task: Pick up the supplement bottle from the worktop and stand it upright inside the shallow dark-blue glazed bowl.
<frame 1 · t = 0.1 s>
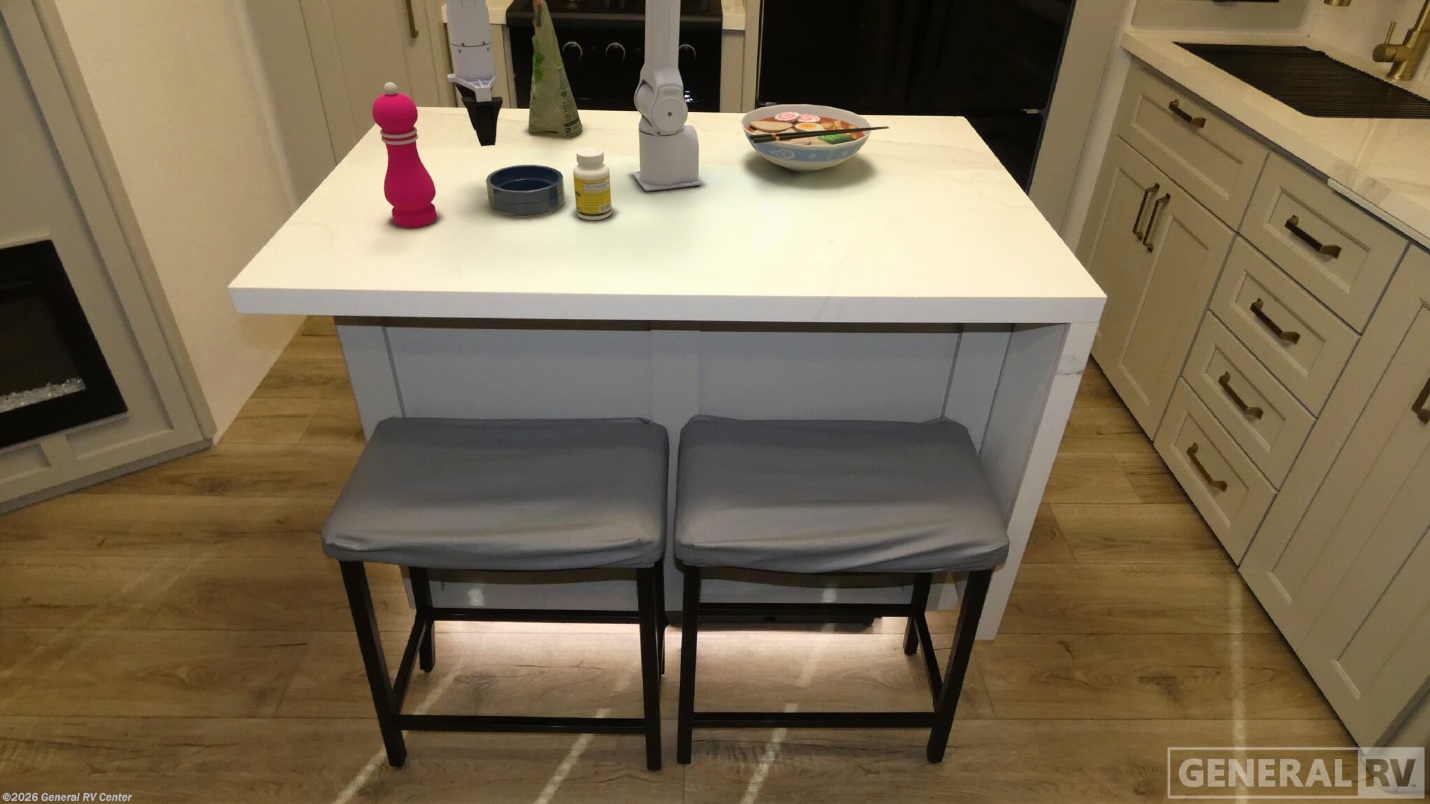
hand: (484, 136, 131), 10 cm above the counter, tool pointing down, fingers open, 7 cm apart
bowl: (527, 203, 136), on the counter
ramen bowl: (802, 166, 152), on the counter
supplement bottle: (594, 215, 133), on the counter
pepper mill: (415, 220, 130), on the counter
pouch: (553, 131, 165), on the counter
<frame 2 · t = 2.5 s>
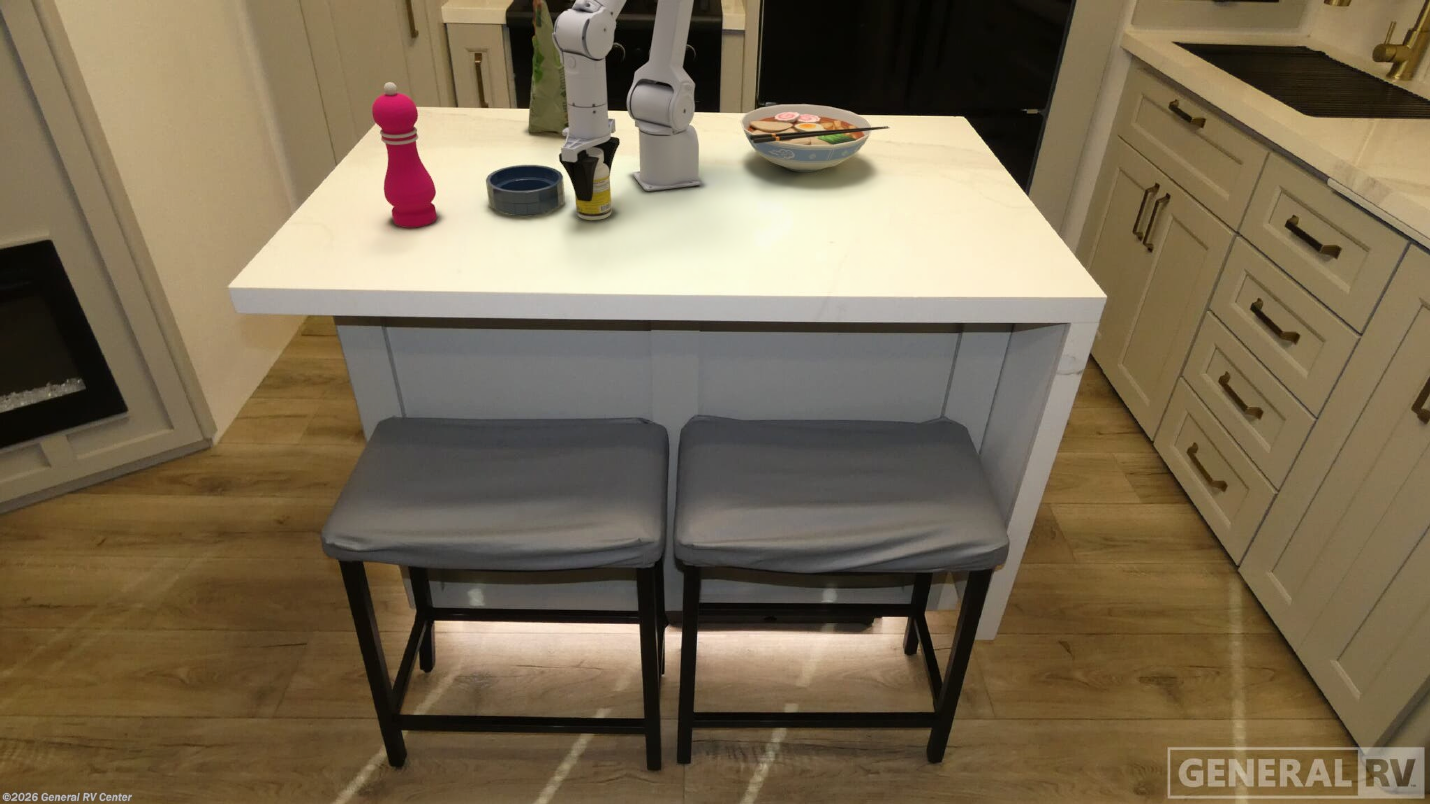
hand: (592, 192, 131), 3 cm above the counter, tool pointing down, fingers closed on supplement bottle, 5 cm apart
supplement bottle: (594, 215, 133), on the counter, touching gripper
everything else where it was.
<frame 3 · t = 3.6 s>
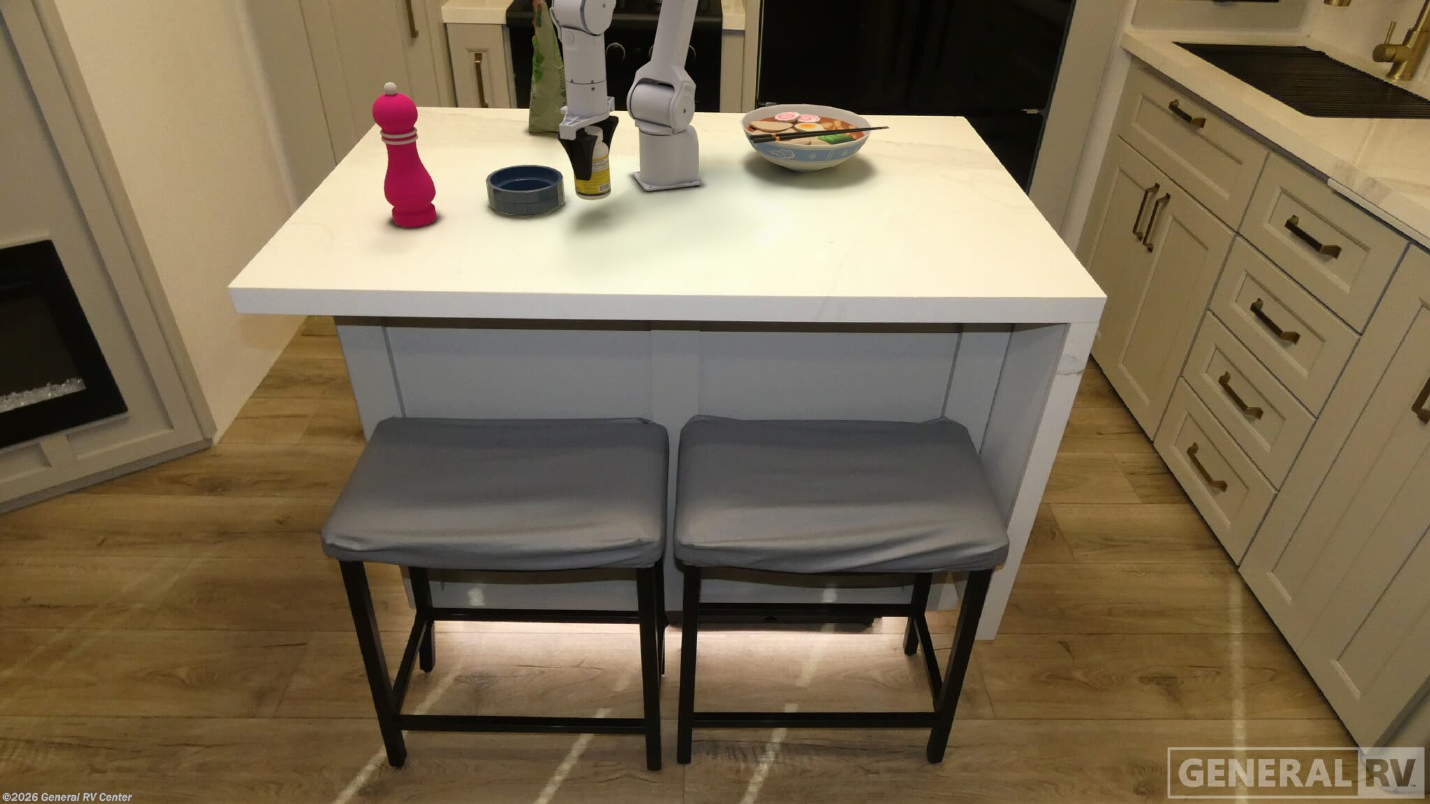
hand: (591, 172, 129), 7 cm above the counter, tool pointing down, fingers closed on supplement bottle, 5 cm apart
supplement bottle: (593, 195, 131), point 3 cm above the counter, touching gripper
everything else where it was.
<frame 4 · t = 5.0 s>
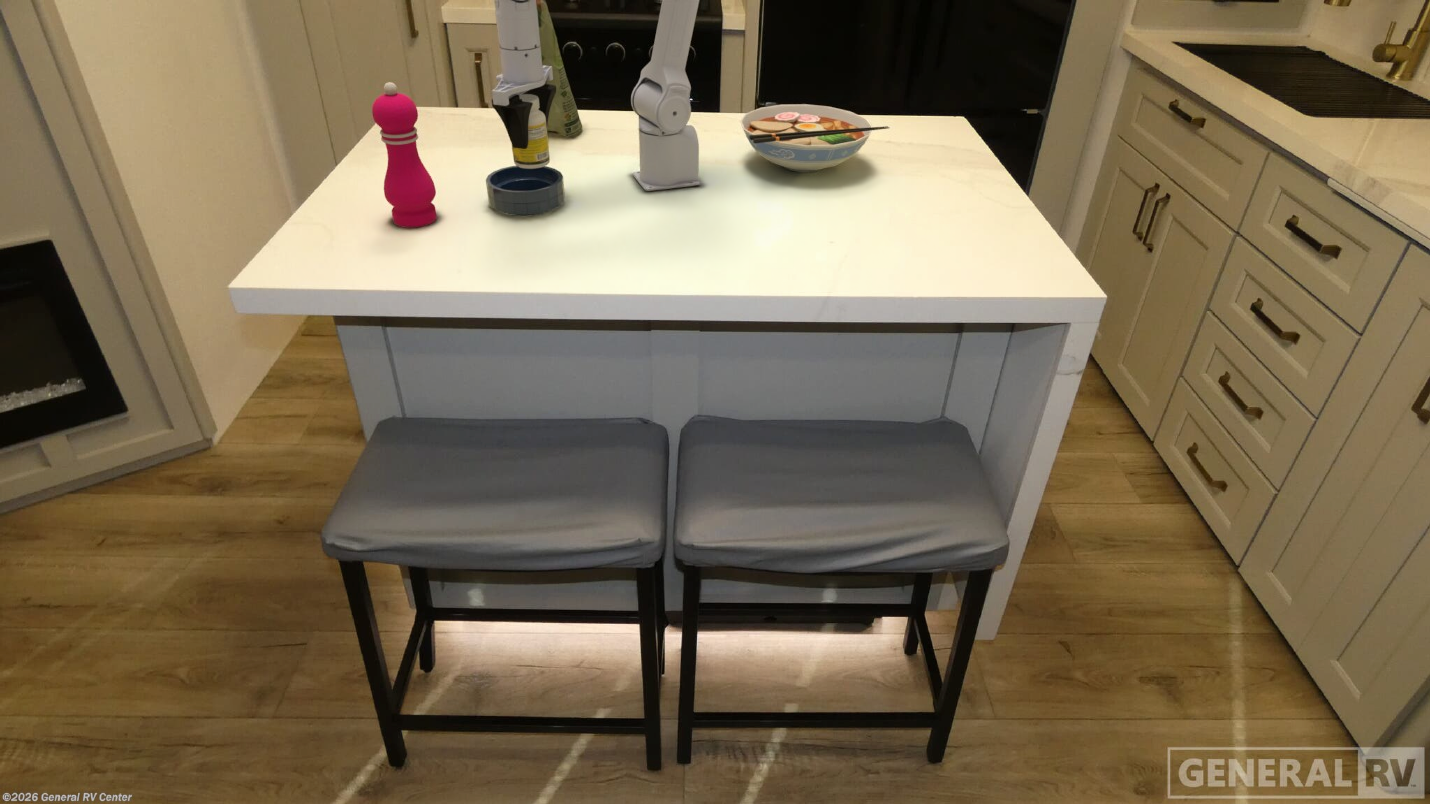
hand: (529, 141, 129), 10 cm above the counter, tool pointing down, fingers closed on supplement bottle, 5 cm apart
supplement bottle: (532, 164, 131), point 7 cm above the counter, touching gripper
everything else where it was.
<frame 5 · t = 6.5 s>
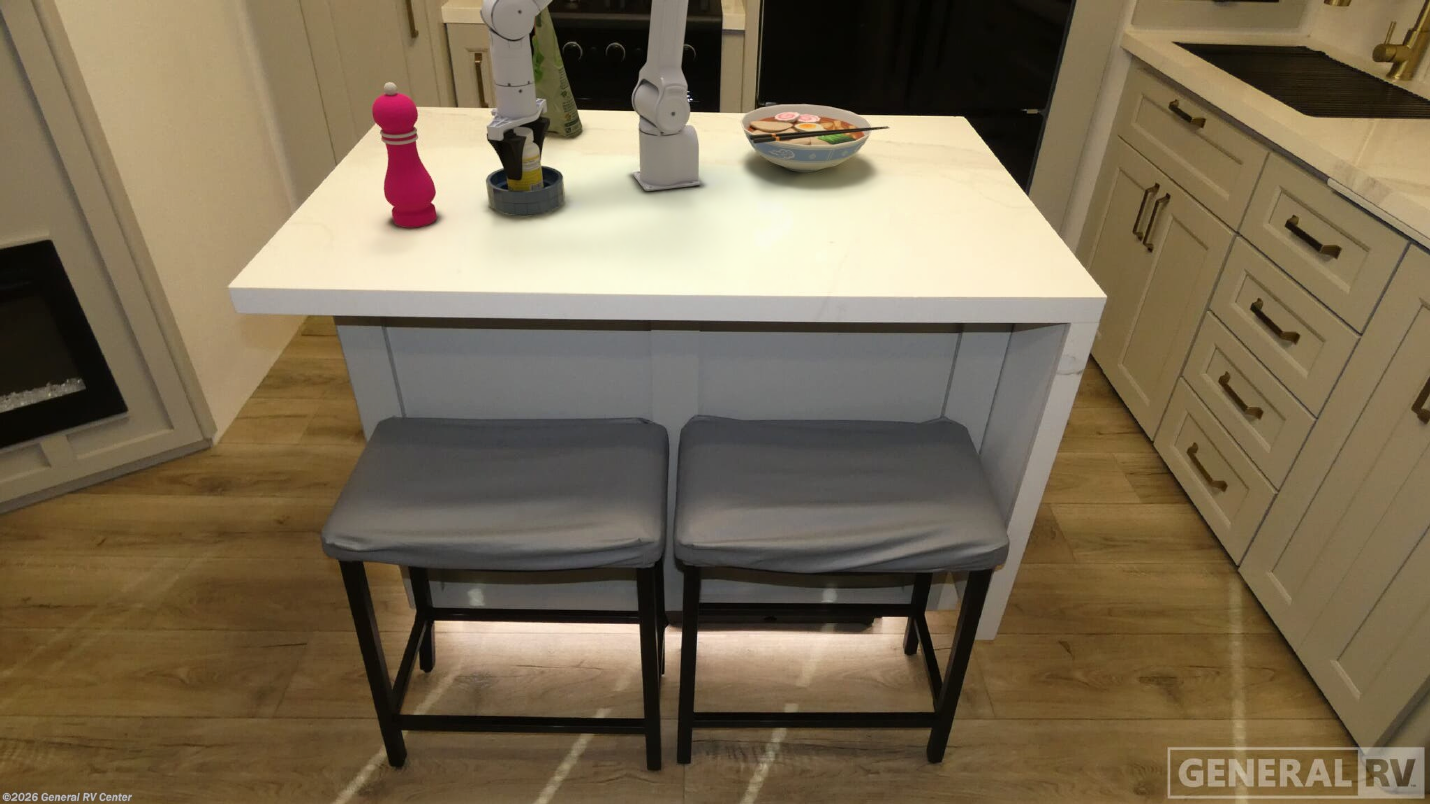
hand: (524, 172, 133), 5 cm above the counter, tool pointing down, fingers closed on supplement bottle, 5 cm apart
supplement bottle: (526, 194, 135), point 1 cm above the counter, touching gripper
everything else where it was.
when the fingers open (4 cm above the counter, at t = 7.5 s): supplement bottle stays where it is, resting on bowl.
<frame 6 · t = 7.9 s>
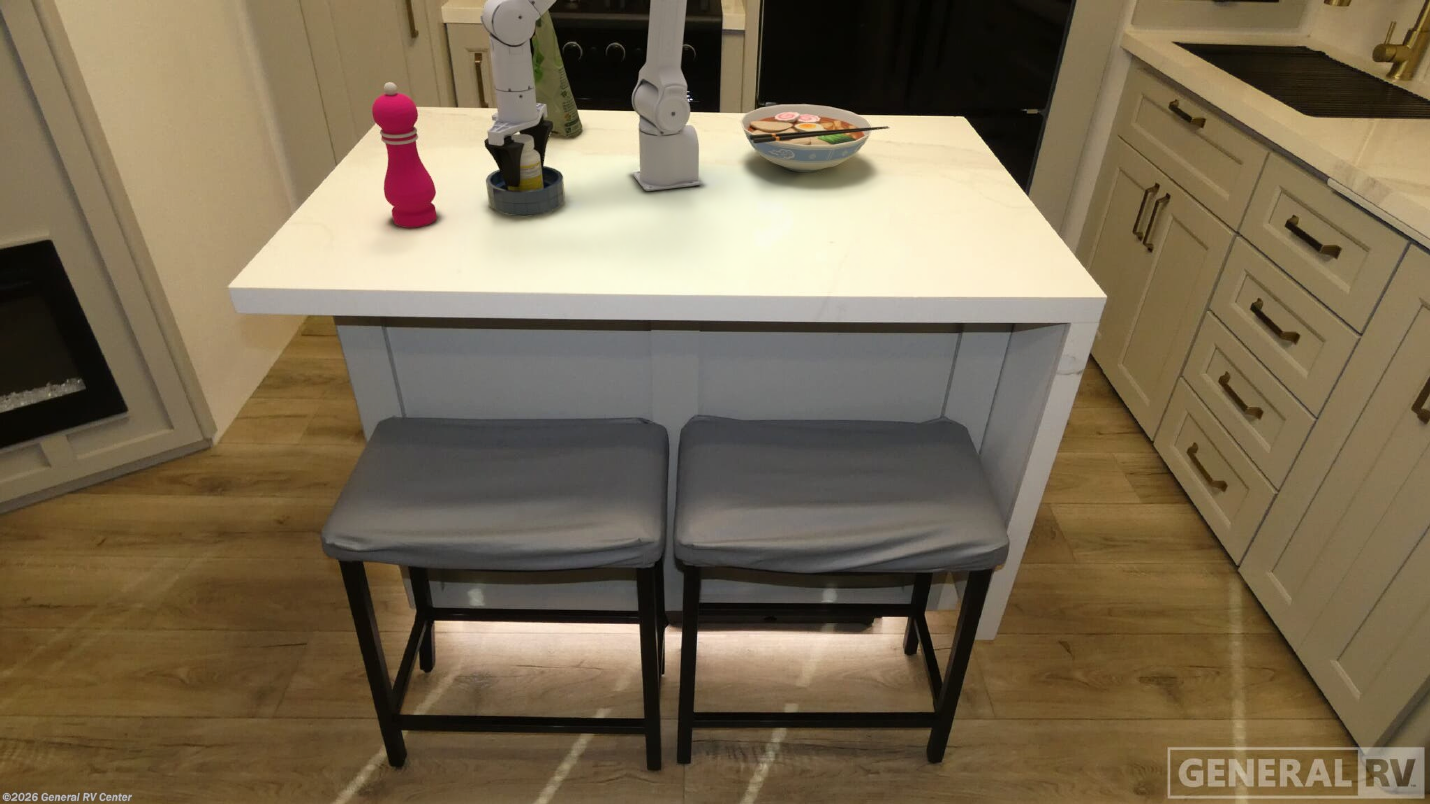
hand: (524, 177, 133), 4 cm above the counter, tool pointing down, fingers open, 7 cm apart
supplement bottle: (527, 201, 135), resting on bowl
everything else where it was.
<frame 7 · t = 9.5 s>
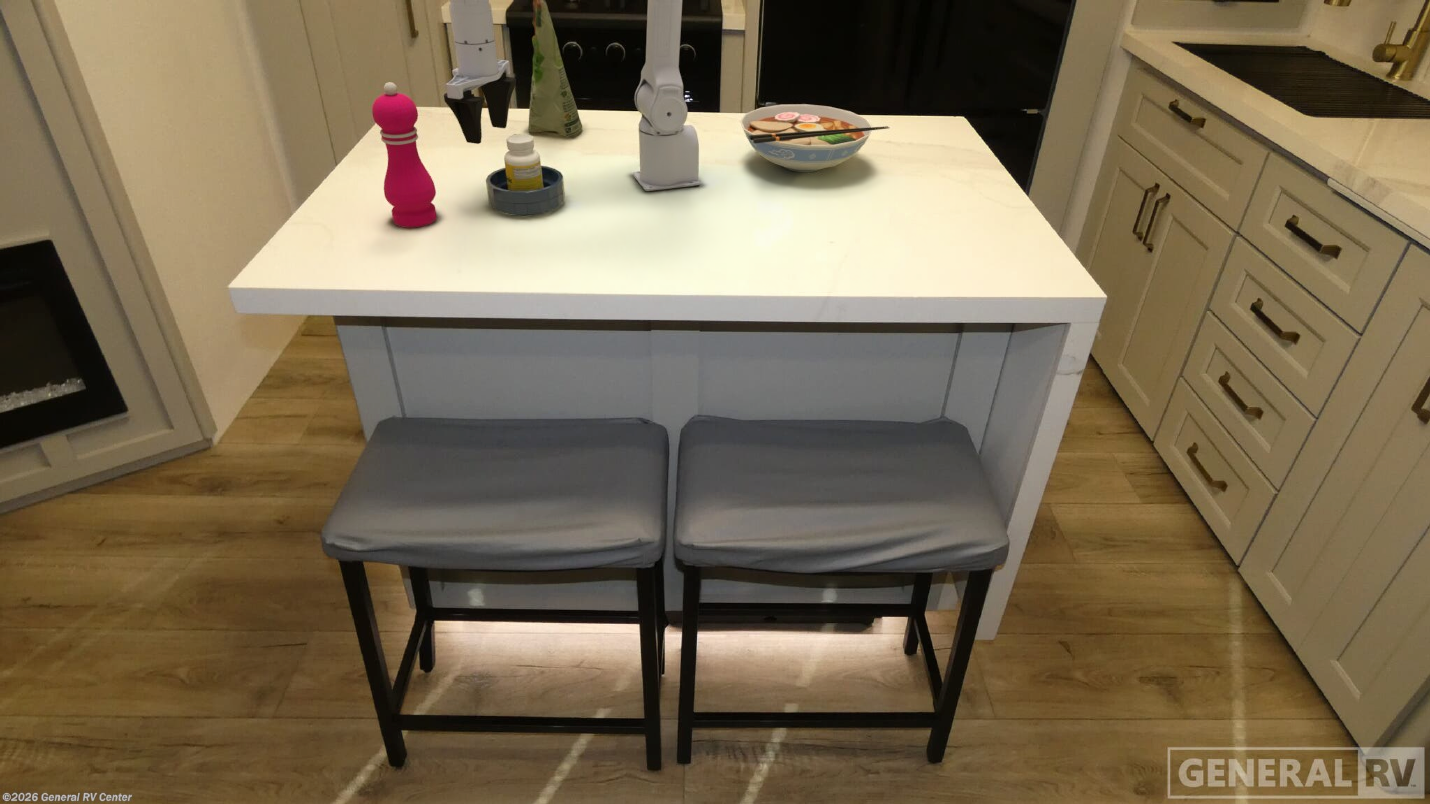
hand: (486, 134, 131), 10 cm above the counter, tool pointing down, fingers open, 7 cm apart
nothing on the counter moved.
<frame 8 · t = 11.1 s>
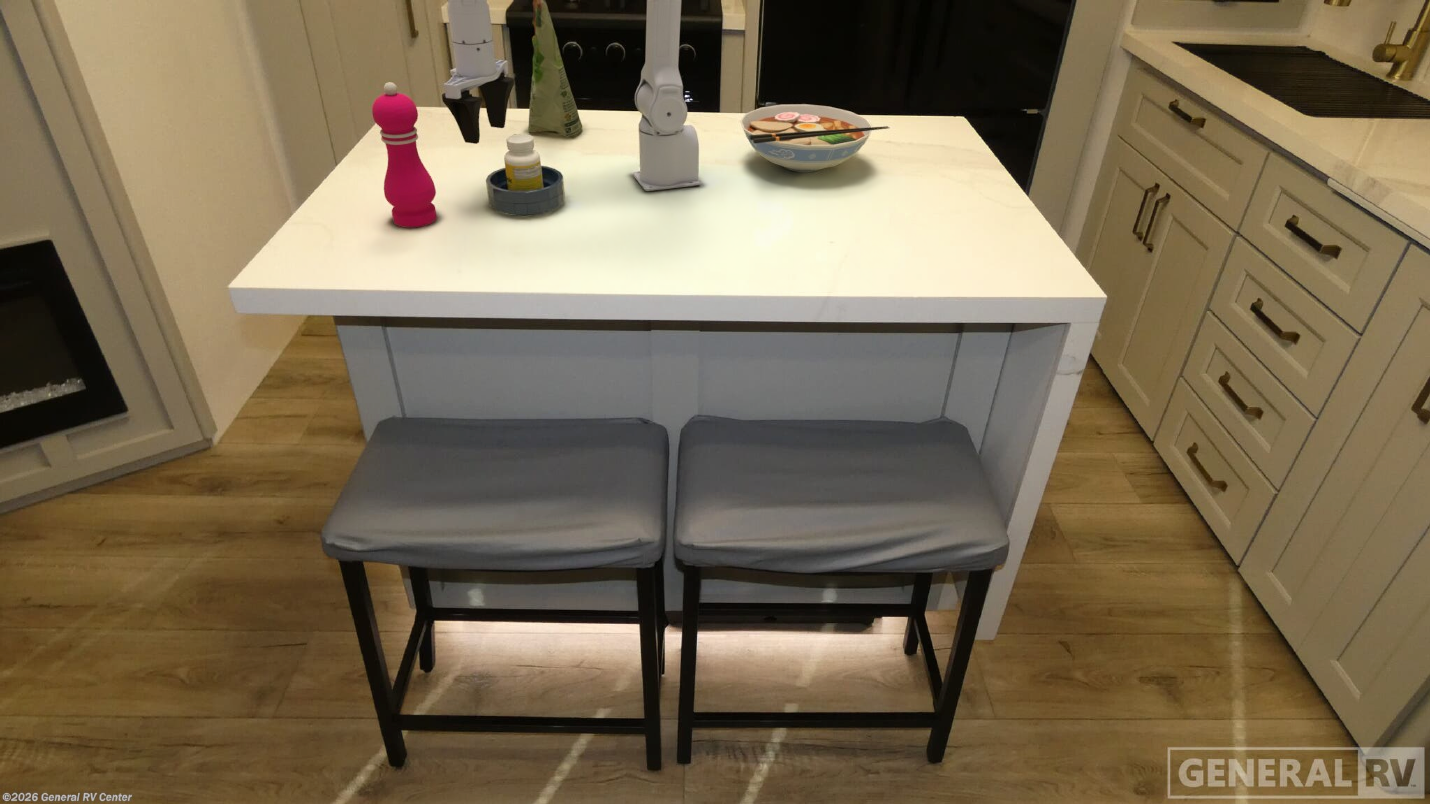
hand: (485, 134, 131), 10 cm above the counter, tool pointing down, fingers open, 7 cm apart
nothing on the counter moved.
at the end: supplement bottle 0.0 cm off-centre in the bowl, point 0.4 cm above the bowl's base; supplement bottle tilted 0°; the gripper is holding nothing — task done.
